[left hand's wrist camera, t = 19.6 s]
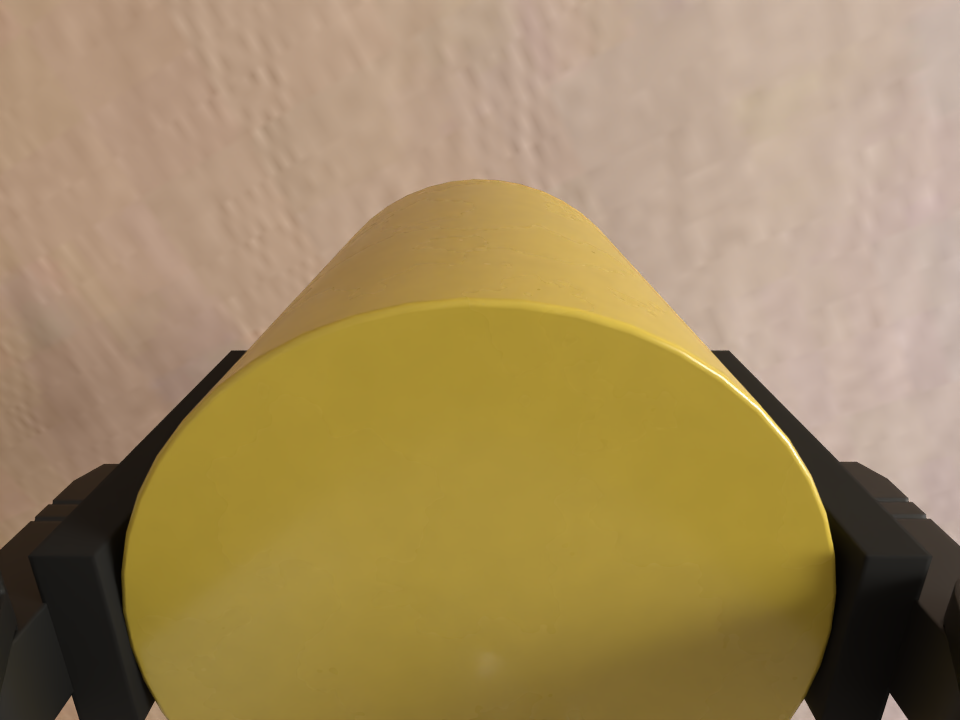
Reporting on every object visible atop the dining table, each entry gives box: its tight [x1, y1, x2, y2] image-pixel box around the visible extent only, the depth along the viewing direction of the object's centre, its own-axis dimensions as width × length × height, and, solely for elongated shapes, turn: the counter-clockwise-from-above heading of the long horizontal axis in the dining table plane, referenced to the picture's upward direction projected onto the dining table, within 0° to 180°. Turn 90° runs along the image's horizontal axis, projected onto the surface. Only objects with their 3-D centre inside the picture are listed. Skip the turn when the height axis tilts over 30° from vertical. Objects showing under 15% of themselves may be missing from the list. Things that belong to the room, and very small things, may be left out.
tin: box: [121, 179, 836, 720], centre depth 13 cm, size 9×9×10 cm
